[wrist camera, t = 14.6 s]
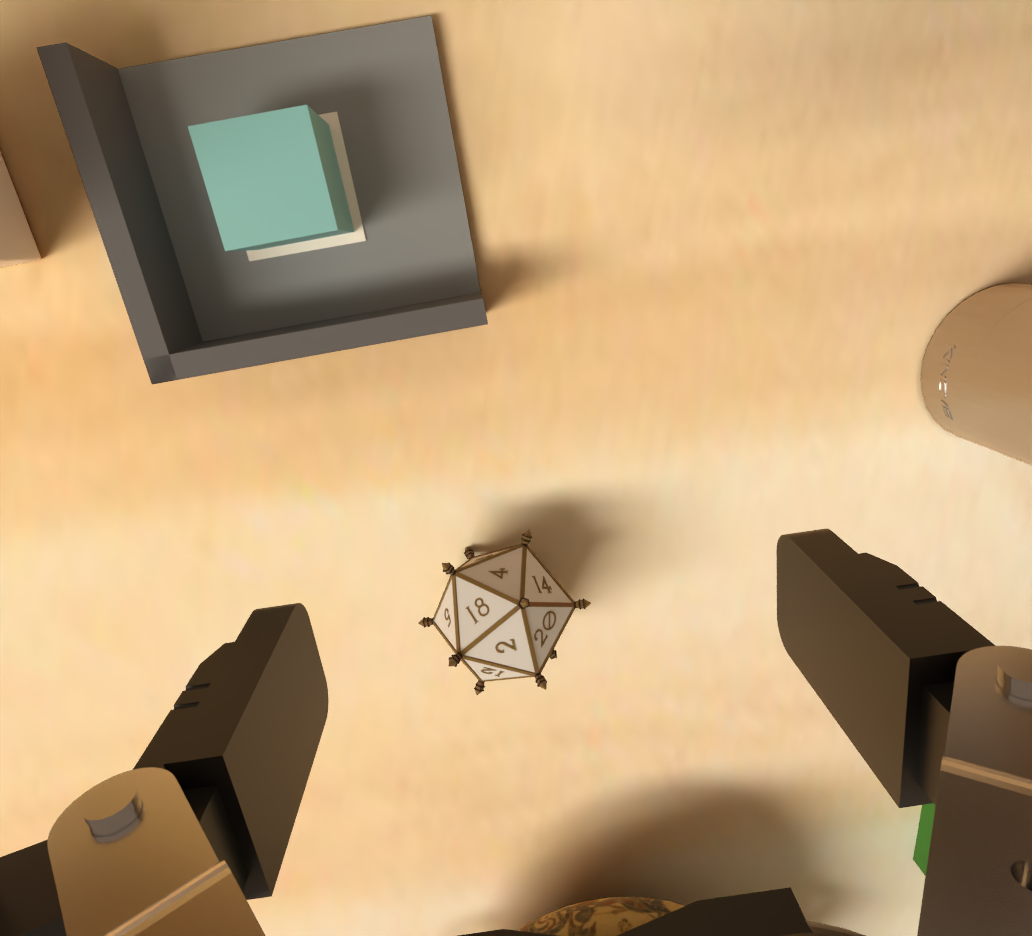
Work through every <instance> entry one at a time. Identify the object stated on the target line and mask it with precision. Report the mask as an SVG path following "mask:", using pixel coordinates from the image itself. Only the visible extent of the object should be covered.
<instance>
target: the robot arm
mask: <svg viewBox="0 0 1032 936" xmlns="http://www.w3.org/2000/svg"><path fill="white" fill-rule="evenodd" d="M921 387H922V395H923V398H924V401H925V405H926V408H927V409H928V411H929V413H930V414H931V416H932V417H933V419H934V420H935V421H936V422H937V423H938V424H939V425H940V426H941V427H942V428H943V429H944V430H946V431H948V432H950V433H952V434H954V435H956V436H958V437H960V438H963V439H966V440H968V441H971V442H973V443H976V444H979V445H981V446H984V447H986V448H989V449H991V450H994V451H997V452H999V453H1001V454H1004V455H1006V456H1009V457H1011V458H1014V459H1016V460H1019V461H1022V462H1024V463H1027V464H1029V465H1032V284H1019V283H1008V284H1002V285H996V286H993V287H990V288H988V289H985V290H982V291H980V292H977V293H976V294H974V295H973V296H971V297H969V298H968V299H966V300H965V301H963V302H962V303H961V304H959V305H958V306H957V307H956V308H955V309H954V310H953V311H952V312H951V313H949V314H948V316H947V317H946V318H945V319H944V321H943V322H942V323H941V324H940V326H939V327H938V328H937V330H936V332H935V333H934V335H933V337H932V339H931V341H930V343H929V345H928V347H927V350H926V353H925V357H924V360H923V364H922V372H921ZM777 621H778V627H779V632H780V636H781V639H782V642H783V645H784V647H785V649H786V651H787V653H788V654H789V656H790V657H791V659H792V660H793V661H794V663H795V664H796V666H797V667H798V668H799V670H800V671H801V673H802V674H803V675H804V677H805V678H806V679H807V681H808V682H809V684H810V685H811V686H812V688H813V689H814V691H815V692H816V693H817V695H818V696H819V697H820V699H821V700H822V702H823V703H824V704H825V706H826V707H827V709H828V710H829V711H830V713H831V714H832V716H833V717H834V718H835V720H836V721H837V722H838V724H839V725H840V727H841V728H842V729H843V731H844V732H845V734H846V735H847V736H848V738H849V739H850V740H851V742H852V743H853V745H854V746H855V747H856V749H857V750H858V752H859V753H860V754H861V756H862V757H863V758H864V760H865V761H866V763H867V764H868V765H869V767H870V768H871V770H872V771H873V772H874V774H875V775H876V777H877V778H878V779H879V781H880V782H881V783H882V785H883V786H884V788H885V789H886V790H887V792H888V793H889V795H890V796H891V797H892V799H893V800H894V801H895V803H896V804H897V806H898V807H899V808H903V807H910V806H917V805H924V804H931V803H934V805H935V813H934V820H933V827H932V834H931V842H930V849H929V856H928V863H927V870H926V877H925V885H924V892H923V899H922V906H921V913H920V920H919V928H918V935H917V936H1032V650H1030V649H1026V648H1020V647H1013V646H995V645H994V644H993V643H991V642H990V641H989V640H988V639H986V638H985V637H984V636H983V635H982V634H980V633H979V632H978V631H977V630H975V629H974V628H973V627H972V626H971V625H969V624H968V623H967V622H966V621H964V620H963V619H962V618H961V617H959V616H958V615H957V614H956V613H955V612H953V611H952V610H951V609H950V608H948V607H947V606H946V605H945V604H943V603H942V602H941V601H938V602H937V600H936V597H935V596H934V595H932V594H931V593H930V592H929V591H928V590H926V589H925V588H924V587H923V586H922V587H919V585H918V582H916V581H915V580H914V579H913V578H912V577H910V576H909V575H908V574H907V573H905V572H904V571H903V570H902V569H900V568H899V567H898V566H897V565H894V564H892V563H889V562H887V561H885V560H882V559H880V558H878V557H875V556H873V555H871V554H868V553H861V554H858V553H857V552H855V551H854V550H853V549H852V548H851V547H850V546H848V545H847V544H846V543H845V542H844V541H843V540H841V539H840V538H839V537H838V536H837V535H836V534H835V533H833V532H832V531H831V530H829V529H821V530H814V531H807V532H800V533H793V534H786V535H782V536H781V537H780V538H779V540H778V543H777ZM327 713H328V689H327V682H326V678H325V674H324V671H323V667H322V663H321V660H320V656H319V652H318V649H317V645H316V641H315V638H314V634H313V630H312V626H311V623H310V619H309V616H308V613H307V610H306V608H305V607H304V606H303V605H302V604H301V603H296V604H289V605H282V606H275V607H269V608H262V609H256V610H254V611H253V612H252V614H251V615H250V617H249V619H248V620H247V622H246V624H245V626H244V627H243V629H242V631H241V632H240V634H239V636H238V637H237V639H236V641H235V642H232V643H225V644H223V645H222V646H221V647H220V648H219V649H218V650H216V651H215V652H214V653H213V654H212V655H210V656H209V657H208V658H207V659H206V660H205V661H203V662H202V663H201V664H200V665H199V667H198V668H197V670H196V671H195V673H194V674H193V676H192V678H191V679H190V681H189V682H188V684H187V685H186V691H183V692H182V693H181V695H180V696H179V698H178V700H177V701H176V703H175V704H174V710H171V711H170V712H169V714H168V715H167V717H166V718H165V720H164V722H163V723H162V725H161V726H160V728H159V729H158V731H157V733H156V734H155V736H154V737H153V739H152V740H151V742H150V744H149V745H148V747H147V748H146V750H145V751H144V753H143V755H142V756H141V758H140V759H139V761H138V762H137V764H136V766H135V767H134V769H133V770H131V771H127V772H124V773H121V774H118V775H116V776H113V777H111V778H109V779H107V780H105V781H103V782H101V783H99V784H98V785H96V786H94V787H93V788H91V789H90V790H88V791H87V792H85V793H84V794H82V795H81V796H80V797H79V798H77V799H76V800H75V801H74V802H73V803H72V804H71V805H70V806H68V807H67V808H66V809H65V811H64V812H63V813H62V814H61V815H60V816H59V818H58V819H57V820H56V822H55V823H54V825H53V827H52V829H51V831H50V833H49V837H48V840H46V841H43V842H40V843H38V844H35V845H32V846H30V847H27V848H24V849H22V850H19V851H16V852H14V853H11V854H8V855H6V856H3V857H0V936H265V934H264V932H263V930H262V928H261V926H260V925H259V923H258V921H257V919H256V917H255V915H254V913H253V911H252V910H251V908H250V906H249V904H248V902H247V900H249V899H256V898H263V897H270V896H272V893H273V890H274V887H275V884H276V880H277V877H278V874H279V871H280V868H281V864H282V861H283V858H284V855H285V851H286V848H287V845H288V842H289V838H290V835H291V832H292V829H293V826H294V822H295V819H296V816H297V813H298V809H299V806H300V803H301V800H302V796H303V793H304V790H305V787H306V784H307V780H308V777H309V774H310V771H311V767H312V764H313V761H314V758H315V754H316V751H317V748H318V745H319V742H320V738H321V735H322V732H323V729H324V725H325V722H326V718H327ZM459 936H559V935H550V934H541V933H533V932H524V931H515V930H507V929H501V930H494V931H487V932H480V933H473V934H466V935H459ZM617 936H865V935H862V934H859V933H856V932H853V931H850V930H847V929H844V928H839V927H835V926H831V925H826V924H822V923H815V922H808V921H806V920H805V918H804V915H803V913H802V911H801V909H800V907H799V905H798V903H797V901H796V898H795V896H794V894H793V892H792V890H791V888H784V889H777V890H770V891H763V892H756V893H749V894H742V895H735V896H728V897H722V898H715V899H708V900H701V901H696V902H694V903H691V904H689V905H687V906H684V907H682V908H680V909H677V910H675V911H673V912H670V913H668V914H666V915H663V916H661V917H659V918H656V919H654V920H652V921H649V922H647V923H645V924H643V925H640V926H638V927H636V928H633V929H631V930H629V931H626V932H624V933H622V934H619V935H617Z"/></svg>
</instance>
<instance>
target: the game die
mask: <svg viewBox="0 0 1032 936" xmlns="http://www.w3.org/2000/svg"><path fill="white" fill-rule="evenodd" d="M522 535H523V537H522V538H521V539H522V543H521V544H520V545H516V546H512V547H508V548H505V549H501V550H497V551H494V552H490V553H486V554H482V555H479V556H475V557H474V553H473V550H471V549H468V548H465V552H464V554H465V556H466V557H467V559H469V560H468V561H467V562H465V563H464V564H462V565H461V566H460V567H458V568H457V569H456V570H454V567H453V566H452V565H451V564H450V563H442V566H443V572H446V574H450V575H451V576H450V579H449V581H448V583H447V586H446V588H445V591H444V593H443V596H442V598H441V600H440V603H439V605H438V608H437V610H436V613H435V615H434V617H433V618H432V619H431V618H429V617H427V618H425V617H424V618H423V619H422V620H421V621H420V622H419V624H420V625H422V626H424V627H426V626H428V627H429V626H430V625H434V626H435V627H436V629H437V630H438V631H439V632H440V634H441V635H442V636H443V638H444V639H445V640H446V642H447V643H448V644H449V646H450V647H451V648H452V650H453V651H454V652H455V654H456V655H452V657H450V658H449V666H455V667H456V666H457V664H459V662H460V660H461V661H462V662H463V663H464V664H465V665H466V666H467V668H468V669H469V670H470V671H471V672H472V673H473V674H474V675H475V676H476V678H477V679H478V682H477V683H476V686H475V688H474V689H475V691H476V694H477V695H478V694H479V693H481V692H482V691H484V690H483V688H484V687H485V686H484V682H485V681H495V680H505V679H515V678H525V677H535V678H536V681H535V682H536V683H537V684H538V685H537V686H538V687H542V688H544V689H546V683H547V681H546V679H545V678H544V676H542V675H541V672H542V670H543V668H544V666H545V664H546V662H547V660H548V659H549V657H550V658H551V659H553V658H557V655H556V650H554V647H555V645H556V643H557V641H558V640H559V638H560V636H561V634H562V632H563V630H564V628H565V626H566V624H567V623H568V621H569V619H570V617H571V615H572V613H573V611H574V609H575V608H580V609H581V608H584V609H585V608H586V607H587V606H588V605H590V604H591V603H590V602H588V601H586V600H584V599H583V600H580V599H579V601H576V602H574V601H573V600H572V598H571V597H570V596H569V595H568V594H567V592H566V591H565V590H564V589H563V588H562V586H561V585H560V584H559V583H558V582H557V580H556V579H555V578H554V577H553V576H552V574H551V573H550V572H549V571H548V570H547V569H546V567H545V566H544V565H543V564H542V563H541V561H540V560H539V559H538V558H537V557H536V555H535V554H534V553H533V552H532V551H531V549H530V548H529V547H528V546H527V545H528V543H529V542H530V539H531V538H532V536H531V533H530V529H529V530H528V531H527V532H525V533H524V534H522Z"/></svg>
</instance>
